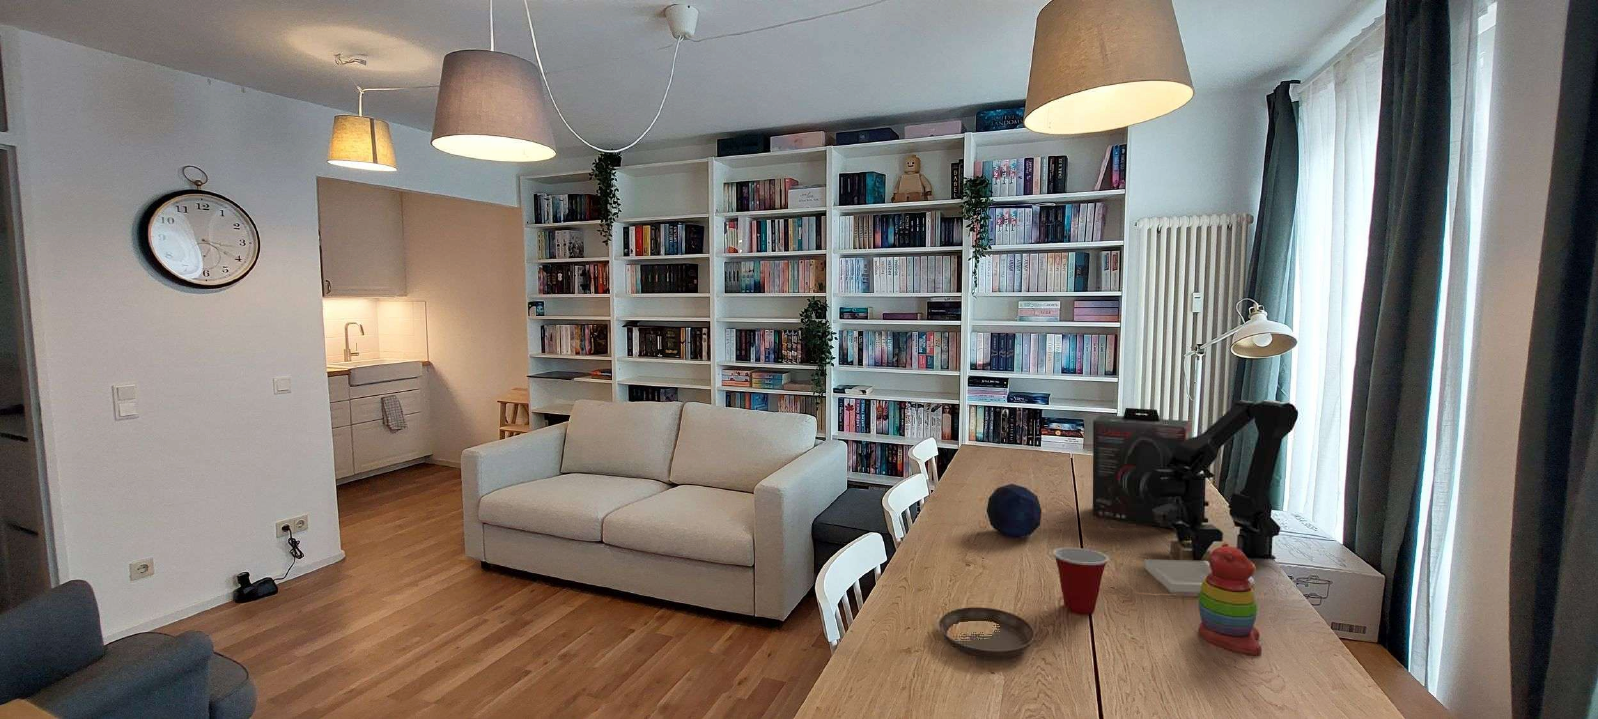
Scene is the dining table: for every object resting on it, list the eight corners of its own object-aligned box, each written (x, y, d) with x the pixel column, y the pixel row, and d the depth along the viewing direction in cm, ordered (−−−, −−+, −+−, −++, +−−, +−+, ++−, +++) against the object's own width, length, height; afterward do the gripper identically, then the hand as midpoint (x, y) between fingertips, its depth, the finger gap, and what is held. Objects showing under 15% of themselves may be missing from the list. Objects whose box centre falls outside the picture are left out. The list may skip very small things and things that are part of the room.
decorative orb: (1058, 515, 184) (1025, 469, 188) (1046, 531, 171) (1011, 481, 175) (1016, 538, 191) (985, 493, 195) (1002, 555, 178) (969, 506, 182)
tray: (1206, 570, 158) (1206, 560, 157) (1239, 596, 144) (1239, 585, 144) (1144, 569, 159) (1145, 559, 159) (1171, 594, 145) (1171, 583, 145)
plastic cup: (1104, 600, 143) (1105, 546, 142) (1110, 623, 133) (1111, 565, 132) (1051, 594, 146) (1051, 541, 145) (1052, 616, 136) (1053, 559, 135)
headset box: (1089, 516, 199) (1092, 407, 196) (1099, 506, 209) (1101, 402, 206) (1184, 532, 184) (1187, 414, 181) (1189, 520, 194) (1192, 408, 191)
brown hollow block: (1196, 554, 166) (1197, 541, 166) (1209, 564, 160) (1210, 550, 160) (1165, 554, 167) (1165, 540, 167) (1176, 564, 161) (1177, 550, 161)
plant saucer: (931, 619, 136) (931, 605, 136) (1018, 619, 135) (1018, 605, 135) (948, 666, 118) (948, 650, 118) (1048, 666, 118) (1048, 650, 117)
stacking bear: (1262, 658, 119) (1266, 562, 117) (1196, 643, 124) (1199, 551, 123) (1258, 632, 128) (1262, 543, 127) (1197, 620, 133) (1200, 534, 132)
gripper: (1141, 484, 172) (1140, 542, 174) (1174, 506, 154) (1172, 571, 155) (1186, 484, 171) (1184, 543, 173) (1225, 506, 153) (1223, 572, 154)
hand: (1189, 556), depth 164 cm, fingers closed on brown hollow block, 6 cm apart
